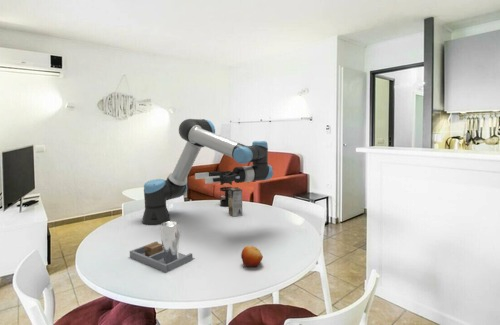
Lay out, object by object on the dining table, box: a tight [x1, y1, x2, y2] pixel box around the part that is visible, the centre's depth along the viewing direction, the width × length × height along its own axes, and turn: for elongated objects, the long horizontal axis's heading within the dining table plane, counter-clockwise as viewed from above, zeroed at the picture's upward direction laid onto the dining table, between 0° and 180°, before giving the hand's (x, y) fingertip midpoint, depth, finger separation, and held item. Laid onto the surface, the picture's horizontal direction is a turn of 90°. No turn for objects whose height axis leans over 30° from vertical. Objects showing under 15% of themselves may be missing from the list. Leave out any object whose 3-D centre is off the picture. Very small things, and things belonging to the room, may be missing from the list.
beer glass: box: [160, 220, 181, 264], centre depth 111 cm, size 7×7×15 cm
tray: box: [129, 241, 196, 274], centre depth 115 cm, size 23×14×3 cm, turn 54°
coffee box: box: [227, 186, 243, 218], centre depth 176 cm, size 9×6×16 cm
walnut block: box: [144, 241, 163, 257], centre depth 118 cm, size 5×5×4 cm
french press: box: [219, 181, 234, 208], centre depth 199 cm, size 12×9×23 cm
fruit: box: [240, 245, 263, 268], centre depth 109 cm, size 8×8×8 cm
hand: (199, 178), depth 128 cm, fingers open, 13 cm apart
